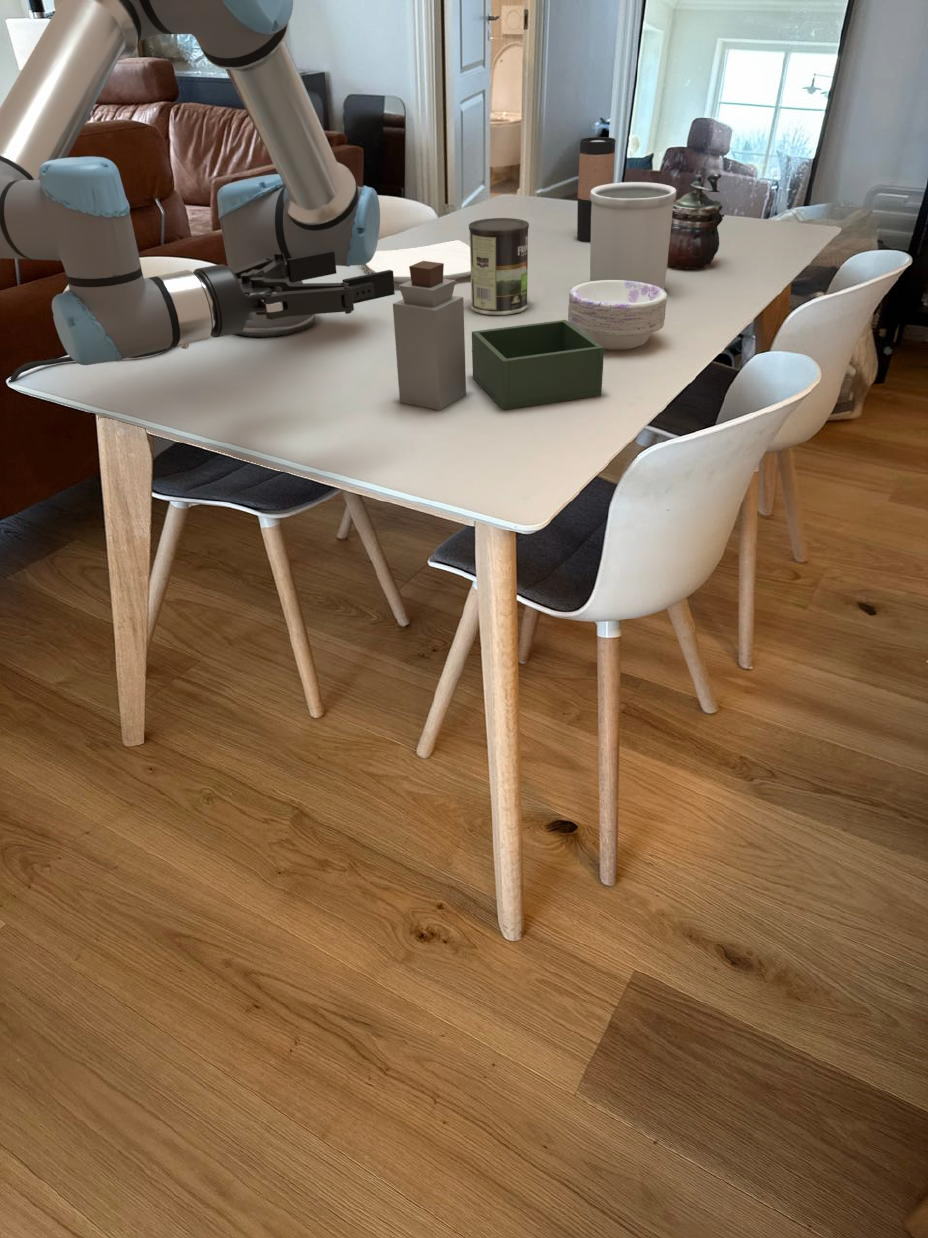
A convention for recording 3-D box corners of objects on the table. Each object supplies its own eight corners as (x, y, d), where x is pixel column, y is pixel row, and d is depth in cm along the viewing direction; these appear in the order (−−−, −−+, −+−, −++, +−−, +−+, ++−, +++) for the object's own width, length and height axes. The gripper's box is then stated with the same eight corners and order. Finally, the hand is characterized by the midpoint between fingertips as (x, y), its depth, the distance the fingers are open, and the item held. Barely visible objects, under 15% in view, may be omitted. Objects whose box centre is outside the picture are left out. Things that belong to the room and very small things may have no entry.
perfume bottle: (466, 394, 128) (462, 261, 118) (439, 410, 124) (433, 273, 113) (426, 386, 131) (419, 256, 121) (399, 401, 127) (390, 267, 116)
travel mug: (570, 236, 206) (574, 138, 195) (601, 233, 208) (606, 135, 196) (584, 243, 200) (588, 142, 189) (615, 240, 202) (622, 140, 190)
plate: (507, 277, 179) (507, 263, 178) (389, 293, 172) (388, 278, 171) (461, 250, 198) (461, 238, 196) (354, 264, 191) (352, 251, 189)
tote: (502, 410, 123) (502, 361, 119) (472, 377, 134) (471, 331, 130) (601, 395, 126) (604, 347, 122) (564, 364, 137) (565, 319, 133)
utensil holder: (629, 308, 160) (637, 200, 150) (569, 291, 169) (573, 189, 159) (683, 291, 167) (694, 188, 157) (623, 276, 177) (629, 178, 167)
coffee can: (531, 299, 166) (532, 217, 158) (523, 316, 157) (524, 230, 149) (476, 298, 168) (474, 216, 159) (465, 314, 159) (463, 229, 151)
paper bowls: (676, 333, 147) (681, 283, 143) (641, 362, 137) (646, 309, 132) (590, 321, 154) (592, 273, 149) (551, 348, 143) (552, 296, 139)
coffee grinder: (681, 279, 174) (692, 176, 164) (647, 261, 186) (655, 164, 176) (740, 272, 177) (754, 171, 167) (703, 255, 189) (714, 159, 178)
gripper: (166, 314, 112) (315, 283, 122) (257, 365, 95) (421, 324, 106) (152, 250, 108) (308, 224, 118) (245, 292, 91) (417, 257, 101)
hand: (362, 271), depth 112 cm, fingers open, 13 cm apart
